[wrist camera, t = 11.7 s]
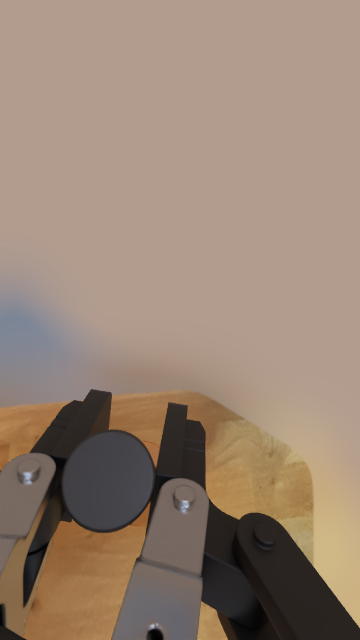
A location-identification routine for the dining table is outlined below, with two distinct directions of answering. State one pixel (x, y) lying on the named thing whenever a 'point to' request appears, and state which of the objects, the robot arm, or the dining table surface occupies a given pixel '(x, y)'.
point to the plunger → (110, 481)
